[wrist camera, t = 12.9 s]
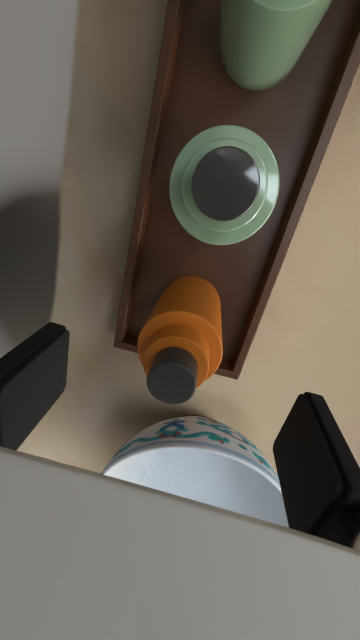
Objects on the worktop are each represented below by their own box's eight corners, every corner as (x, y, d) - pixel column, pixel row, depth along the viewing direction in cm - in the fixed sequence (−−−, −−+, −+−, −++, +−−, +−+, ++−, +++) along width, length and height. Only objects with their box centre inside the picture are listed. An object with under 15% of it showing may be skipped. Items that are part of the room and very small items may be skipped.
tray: (193, -96, 14) (189, -141, 12) (391, -49, 14) (417, -87, 12) (121, 335, 24) (113, 346, 22) (236, 366, 24) (237, 380, 22)
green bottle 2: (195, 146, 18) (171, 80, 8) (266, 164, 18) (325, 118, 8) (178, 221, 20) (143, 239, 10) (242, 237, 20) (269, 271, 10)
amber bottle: (168, 268, 21) (128, 324, 11) (228, 284, 21) (238, 353, 11) (156, 323, 23) (113, 411, 13) (211, 337, 23) (208, 436, 13)
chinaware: (207, 347, 24) (204, 409, 17) (306, 458, 27) (338, 549, 20) (92, 427, 29) (51, 500, 22) (187, 512, 32) (178, 600, 25)
